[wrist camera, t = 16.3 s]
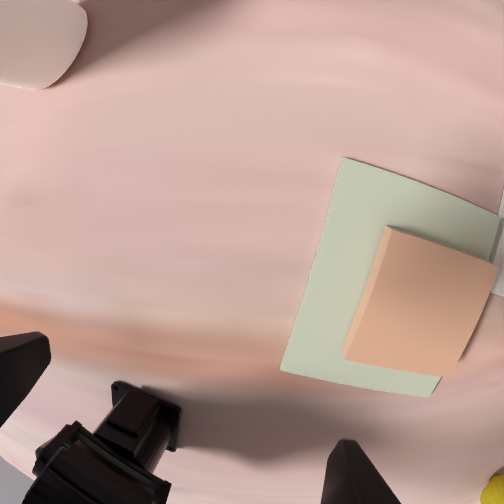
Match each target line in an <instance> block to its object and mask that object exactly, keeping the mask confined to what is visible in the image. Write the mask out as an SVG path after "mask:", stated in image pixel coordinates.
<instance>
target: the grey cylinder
mask: <svg viewBox="0 0 504 504" xmlns="http://www.w3.org/2000/svg"><path fill="white" fill-rule="evenodd" d="M87 24H88V20H87V15H86V12H85V10H84V9H83V8H82V7H81V6H79V5H78V4H76V3H74V2H73V1H71V0H0V84H2V85H8V86H14V87H19V88H24V89H30V90H41V89H44V88H46V87H48V86H50V85H51V84H53V83H54V82H55V81H57V80H58V79H59V78H60V77H61V76H62V75H63V74H64V73H65V72H66V70H67V69H68V68H69V67H70V65H71V64H72V62H73V61H74V59H75V58H76V56H77V54H78V52H79V51H80V48H81V46H82V44H83V41H84V39H85V35H86V31H87Z"/></svg>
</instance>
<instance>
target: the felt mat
mask: <svg viewBox="0 0 504 504" xmlns="http://www.w3.org/2000/svg"><path fill="white" fill-rule="evenodd" d="M503 220H504V218H503ZM503 220H501V217H500V216H498V215H496V214H494V213H492V212H489V211H487V210H485V209H483V208H481V207H478V206H476V205H474V204H472V203H469V202H467V201H465V200H462V199H460V198H458V197H455V196H453V195H451V194H448V193H446V192H443V191H441V190H438V189H436V188H433V187H430V186H428V185H425V184H422V183H420V182H417V181H414V180H412V179H409V178H406V177H403V176H400V175H398V174H395V173H392V172H389V171H386V170H383V169H380V168H377V167H374V166H370V165H367V164H364V163H361V162H357V161H354V160H351V159H347V158H344V157H341V162H340V166H339V170H338V174H337V178H336V182H335V186H334V190H333V194H332V198H331V202H330V205H329V209H328V213H327V217H326V220H325V224H324V228H323V231H322V235H321V238H320V242H319V246H318V249H317V253H316V256H315V259H314V263H313V266H312V270H311V273H310V276H309V280H308V283H307V286H306V289H305V293H304V296H303V299H302V302H301V305H300V309H299V312H298V315H297V318H296V321H295V324H294V327H293V330H292V333H291V336H290V339H289V342H288V345H287V348H286V351H285V354H284V357H283V360H282V363H281V365H280V370H281V371H285V372H289V373H293V374H297V375H302V376H306V377H310V378H315V379H319V380H324V381H329V382H334V383H339V384H344V385H349V386H355V387H360V388H366V389H372V390H378V391H385V392H391V393H398V394H405V395H413V396H422V397H429V396H430V395H431V393H432V392H433V390H434V388H435V387H436V385H437V383H438V382H439V380H440V378H441V376H434V375H427V374H421V373H414V372H408V371H402V370H396V369H391V368H385V367H380V366H374V365H369V364H364V363H359V362H354V361H350V360H345V359H344V354H343V348H342V346H343V344H344V341H345V339H346V336H347V334H348V331H349V329H350V326H351V324H352V321H353V319H354V316H355V314H356V311H357V308H358V306H359V303H360V300H361V298H362V295H363V292H364V289H365V286H366V284H367V281H368V278H369V275H370V272H371V269H372V266H373V263H374V260H375V257H376V254H377V251H378V247H379V244H380V241H381V238H382V234H383V231H384V227H385V225H386V226H389V227H392V228H395V229H398V230H402V231H405V232H408V233H411V234H414V235H417V236H420V237H423V238H426V239H429V240H432V241H435V242H438V243H441V244H444V245H447V246H449V247H452V248H455V249H458V250H461V251H463V252H466V253H469V254H472V255H474V256H477V257H480V258H482V259H485V260H488V261H489V260H490V259H491V261H490V262H491V263H492V262H493V260H494V259H493V257H495V256H493V255H495V254H496V252H495V251H494V249H493V251H492V248H494V247H495V248H496V249H495V250H496V251H497V247H498V245H499V243H498V242H499V240H498V242H497V239H496V238H498V237H500V238H501V236H498V234H499V235H501V234H502V233H499V231H500V232H501V230H502V231H503V227H504V226H503V225H504V224H503V223H504V221H503ZM499 221H501V222H503V223H502V224H501V225H500V224H499ZM501 222H500V223H501ZM499 225H500V226H503V227H500V226H499ZM498 228H499V230H498V231H497V229H498ZM497 232H498V233H497ZM496 233H497V235H496ZM495 237H496V238H495ZM500 238H498V239H500ZM494 240H496V242H495V241H494ZM494 242H495V243H496V244H495V245H493V244H494ZM497 243H498V244H497ZM496 245H497V247H496ZM492 246H493V247H492ZM491 252H492V254H491ZM493 252H495V254H493ZM491 255H492V258H490V256H491Z"/></svg>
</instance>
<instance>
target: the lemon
mask: <svg viewBox="0 0 504 504" xmlns="http://www.w3.org/2000/svg"><path fill="white" fill-rule="evenodd" d="M480 501H481V504H504V474H502V475H500V476H498V475H494V476H493V477H492V478H491V480H490V482H489V483H488V484H487V485H486V486H485V488H484V489H483V491H482V494H481V498H480Z"/></svg>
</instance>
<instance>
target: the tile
mask: <svg viewBox="0 0 504 504" xmlns="http://www.w3.org/2000/svg"><path fill="white" fill-rule="evenodd" d="M498 269H499V266H497V265H495V264H493V263H491V262H490V261H488V260H485V259H482V258H480V257H477V256H474V255H472V254H469V253H466V252H463V251H461V250H458V249H455V248H452V247H449V246H447V245H444V244H441V243H438V242H435V241H432V240H429V239H426V238H423V237H420V236H417V235H414V234H411V233H408V232H405V231H402V230H398V229H395V228H392V227H389V226H386V225H385V227H384V231H383V234H382V238H381V241H380V244H379V247H378V251H377V254H376V257H375V260H374V263H373V266H372V269H371V272H370V275H369V278H368V281H367V284H366V286H365V289H364V292H363V295H362V298H361V300H360V303H359V306H358V308H357V311H356V314H355V316H354V319H353V321H352V324H351V326H350V329H349V331H348V334H347V336H346V339H345V341H344V344H343V346H342V348H343V354H344V359H345V360H350V361H354V362H359V363H364V364H369V365H374V366H380V367H385V368H391V369H396V370H402V371H408V372H414V373H421V374H427V375H434V376H441V377H448V378H449V376H450V375H451V373H452V371H453V369H454V368H455V366H456V364H457V362H458V360H459V358H460V357H461V355H462V353H463V351H464V349H465V347H466V345H467V343H468V341H469V339H470V337H471V335H472V333H473V331H474V328H475V326H476V324H477V322H478V320H479V317H480V315H481V313H482V311H483V308H484V306H485V303H486V301H487V299H488V296H489V294H490V291H491V288H492V286H493V283H494V280H495V278H496V275H497V272H498Z"/></svg>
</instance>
